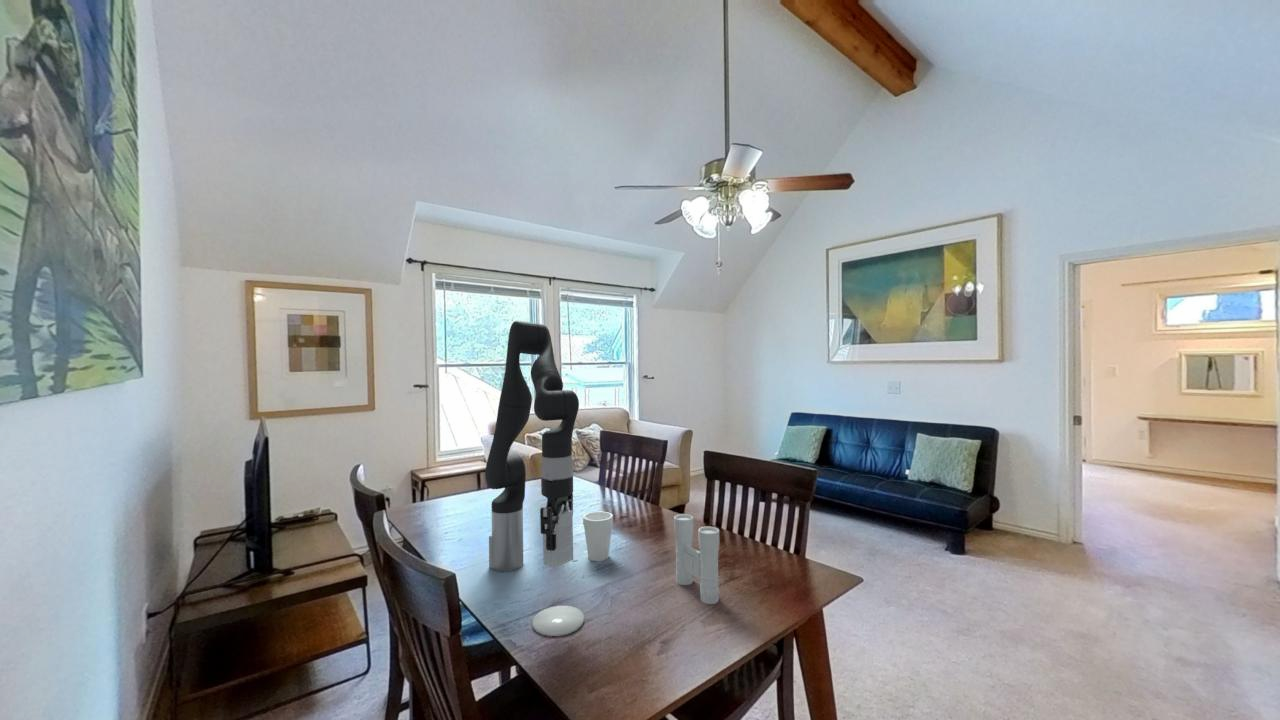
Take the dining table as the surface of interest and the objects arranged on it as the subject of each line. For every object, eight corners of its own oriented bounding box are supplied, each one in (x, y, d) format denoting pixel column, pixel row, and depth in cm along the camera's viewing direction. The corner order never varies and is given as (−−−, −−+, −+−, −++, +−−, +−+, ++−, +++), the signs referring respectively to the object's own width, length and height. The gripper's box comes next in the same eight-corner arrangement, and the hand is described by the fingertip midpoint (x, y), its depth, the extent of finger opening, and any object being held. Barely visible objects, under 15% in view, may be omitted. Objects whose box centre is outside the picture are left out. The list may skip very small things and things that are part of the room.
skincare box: (561, 555, 117) (561, 507, 117) (573, 560, 114) (573, 510, 114) (542, 564, 112) (541, 513, 112) (554, 569, 109) (553, 516, 109)
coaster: (523, 632, 108) (523, 629, 108) (546, 606, 120) (546, 603, 120) (572, 639, 105) (572, 635, 105) (590, 611, 117) (590, 608, 117)
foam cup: (599, 565, 144) (598, 522, 144) (577, 558, 149) (576, 517, 149) (619, 555, 151) (618, 514, 151) (597, 548, 157) (597, 509, 157)
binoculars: (671, 579, 134) (670, 516, 134) (687, 575, 137) (686, 512, 137) (707, 607, 119) (706, 535, 119) (724, 601, 122) (723, 531, 122)
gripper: (554, 467, 121) (555, 532, 121) (528, 480, 107) (529, 554, 107) (582, 468, 119) (583, 534, 119) (559, 482, 105) (560, 557, 105)
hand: (557, 543), depth 113 cm, fingers closed on skincare box, 7 cm apart
